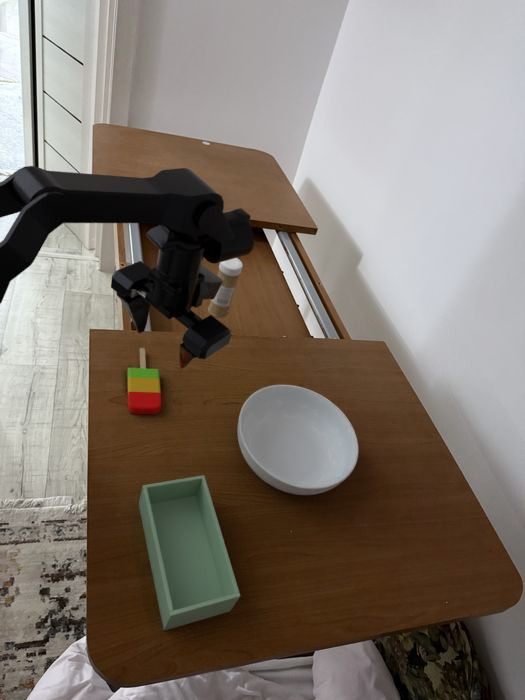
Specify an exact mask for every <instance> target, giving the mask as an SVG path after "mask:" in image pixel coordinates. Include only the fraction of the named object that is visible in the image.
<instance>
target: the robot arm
mask: <svg viewBox="0 0 525 700" xmlns="http://www.w3.org/2000/svg"><path fill="white" fill-rule="evenodd" d="M224 206H225V201H224V199H223V195H221V194H220V193H219V192H217V191H216V190H215V189H214V188H213V187H212V186H211V185H210V184H208V183H207V182H206V181H205V180H204V179H202V178H201V176H199V175H198V174H197V173H195V172H194V171H193V170H192V169H190V168H188V167H180V168H179V167H178V168H169V169H162V170H159V171H158V172H157V173H155V174H154V175H153V176H148V177H136V176H134V177H133V176H122V175H110V174H109V175H108V174H97V173H86V172H85V173H83V172H72V171H71V172H70V171H58V170H57V171H56V170H47V169H44V168H41V167H38V166H34V165H27V166H23V167H20V168H19V169H17V170H16V171H14V172H13V173H12V174H11V175H8V177H6V178H5V179H4V180H2V181H0V219H1V218H4V217H8V216H11V215H15V214H18V215H17V217H16V218H15V220H14V221H13V223H12V225H11V227H10V228H9V230H8V232H7V234H6V236H5V237H4V238H3V240H1V241H0V305H1V304H2V302H3V300H4V298H5V296H6V294H7V291H8V289H9V287H10V284H11V281H13V280H14V279H15V278H17V277H18V276H19V275H20V274H22V273H23V272H24V271H26V270H27V269H28V268H30V267H31V266H32V265H33V263H34V262H35V260H36V259H37V256H38V255H39V254H40V253H39V252H40V251H41V249H42V247H43V245H44V244H45V242H46V240H47V238H48V237H49V235H50V234H51V233H52V232H54V231H55V230H56V229H58V228H59V227H60V226H62V225H63V224H153V225H154V224H155V225H157V226H154V227H152V228H150V229H149V230H148V231H147V232H146V234H145V235H146V237H147V238H148V239H149V240H150V242H151V243H152V244H154V246H156V248H158V254H157V261H156V266H155V267H154V268H151V267H149V266H148V265H146V264H145V263H144V262H143V261H141V260H139V261H136V262H134V263H132V264H128V265H127V266H124V267H122V268H119V269H117V270H115V271H114V272H113V274H112V275H111V280H110V281H111V282H110V288H111V289H112V290H113V291H114V292H115V293H116V297H117V298H119V300H120V302H121V303H122V305H123V307H124V308H125V311H126V312H127V314H128V316H129V317H130V320H131V322H132V324H133V326H134V328H135V330H136V332H137V333H138V334H142V333H143V332H145V331H146V327H147V324H148V319H149V314H150V309H151V307H152V308H154V309H155V310H156V311H158V313H160V314H161V315H163V316H164V317H165V318H167V319H168V320H171V319H173V318H174V319H175V320H176V321H178V322H179V323H180V324H181V325H183V326H184V327H185V328H187V330H185V332H184V333H183V336H182V343H180V344H179V358H178V362H179V363H178V364H179V367H180V369H184V368H186V367H187V366H188V365H189V364H190V363H191V361H192V360H193V359H199V360H206V359H208V358H209V357H210V356H212V355H213V354H215V353H216V352H218V351H220V350H222V349H223V348H224V347H226V346H227V345H229V343H230V341H231V337H232V330H231V329H230V328H229V327H227V326H226V325H225V324H224V323H223V322H221V321H220V320H219V319H217V317H214V316H212V315H211V314H209V316H206V317H204V318H202V317H201V316H199V314H197V313H195V312H194V311H193V310H192V308H193V307H194V308H195V309H197V308H199V307H201V306H202V305H203V300H210V301H211V300H212V299H214V298H215V296H216V294H217V292H218V290H219V288H220V286H221V284H222V282H223V280H222V279H221V278H220V277H218V274H216V273H214V272H213V271H212V270H210V269H209V268H208V267H206V266H204V265H203V261H204V259H205V260H206V261H207V262H209V263H210V264H220V262H223V261H227V260H230V259H234V258H238V259H239V258H242V257H244V256H248V255H249V254H251V253H252V251H253V249H254V248H255V237H254V231H253V228H252V226H251V224H250V220H251V214H249V213H248V212H247V211H245V210H244V208H241V207H239V208H235V209H233V210H231V211H226V212H224V209H225V207H224Z"/></svg>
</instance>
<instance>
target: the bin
mask: <svg viewBox="0 0 525 700" xmlns="http://www.w3.org/2000/svg"><path fill="white" fill-rule="evenodd" d="M138 510H139V514H140V519H141V524H142V529H143V534H144V539H145V544H146V549H147V555H148V560H149V563H150V569H151V574H152V579H153V585H154V590H155V595H156V600H157V605H158V609H159V614H160V620H161V624H162V630H163V631H164V632H165V631H168V630H171V629H172V630H173V629H174V628H178V627H182V626H185V625H189V624H192V623H195V622H199V621H203V620H205V619H209V618H213V617H215V616H219V615H222V614H225V613H230V612H231V611H232V610H233V608H234V606H235V605H236V604H237V602H238V600H239V599H240V598H241V593H240V589H239V586H238V583H237V580H236V577H235V573H234V569H233V566H232V563H231V560H230V555H229V553H228V550H227V547H226V544H225V540H224V536H223V533H222V530H221V526H220V523H219V519H218V517H217V513H216V510H215V507H214V503H213V499H212V496H211V493H210V489H209V485H208V483H207V480H206V476H205V475H204V474H202V475H196V476H191V477H185V478H178V479H173V480H167V481H160V482H153V483H149V484H143V485H142V488H141V492H140V496H139V501H138Z"/></svg>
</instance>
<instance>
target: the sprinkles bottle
mask: <svg viewBox="0 0 525 700" xmlns="http://www.w3.org/2000/svg"><path fill="white" fill-rule="evenodd" d="M243 266H244V264H243V262H242V261H241V260H240V259H239V257H238V258H234V259H230V260H227V261H223V262H219V265H218V272H217V276H218V277H220V278H221V279H222V280H223V282H222V284H221V286H220V288H219V290H218V292H217V294H216V296H215V298H214V299H212V300H211V299H210V300H209V301H210V302H209V305H208V307H207V311H208V313H209V315H212V316H213V317H214V318H216V319H217V318H218V319H224V318H226V317H227V316H228V315H229V310H230V307H231V304H232V301H233V299H234V295H235V290H236V287H237V284H238V280H239V278H240V275H241V273H242V271H243V268H244V267H243Z"/></svg>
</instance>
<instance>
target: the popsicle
mask: <svg viewBox="0 0 525 700" xmlns="http://www.w3.org/2000/svg"><path fill="white" fill-rule="evenodd" d="M139 366H140V367H127V372H126V373H127V378H126V379H127V409H128V411H129V413H131V414H132V415H133V414H134V415H157V414H159V413H160V411H161V409H162V393H161V379H160V378H161V377H160V369H158V368H147V361H146V348H144V347H140V348H139Z"/></svg>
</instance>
